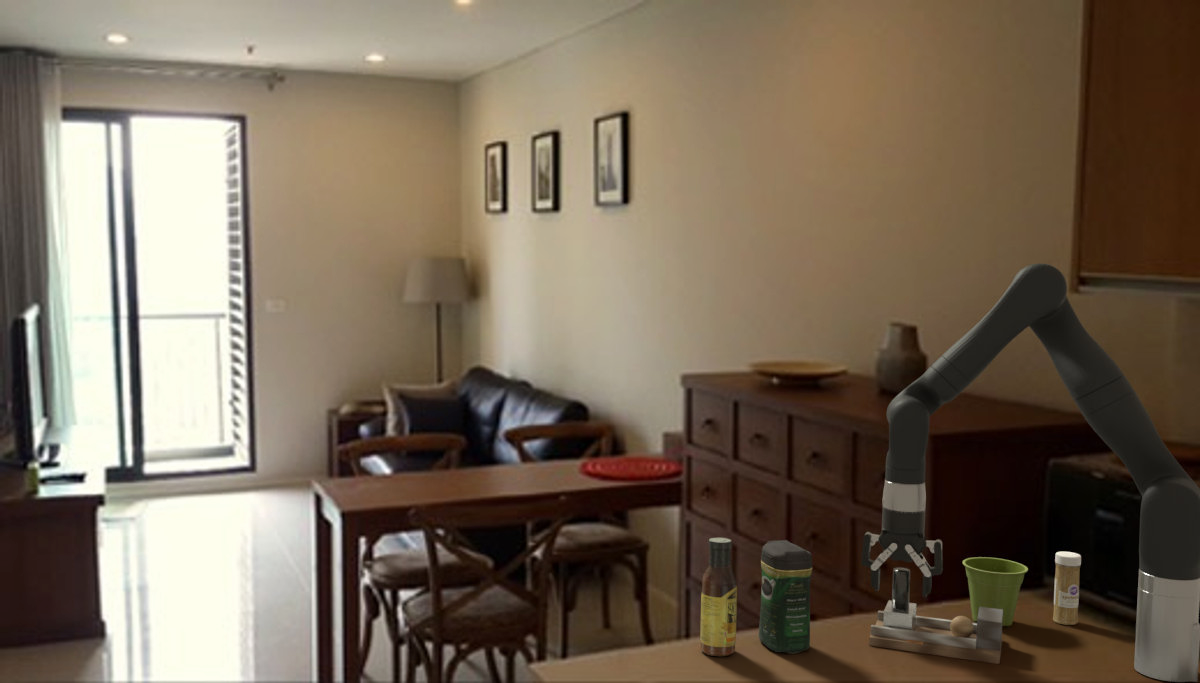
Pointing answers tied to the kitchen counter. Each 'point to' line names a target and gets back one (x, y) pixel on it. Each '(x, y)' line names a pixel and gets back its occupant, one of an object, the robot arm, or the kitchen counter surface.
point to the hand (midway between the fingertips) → (900, 592)
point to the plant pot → (994, 585)
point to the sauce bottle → (718, 601)
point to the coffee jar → (785, 597)
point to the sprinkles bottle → (1066, 587)
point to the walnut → (961, 627)
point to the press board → (945, 637)
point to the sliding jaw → (900, 603)
